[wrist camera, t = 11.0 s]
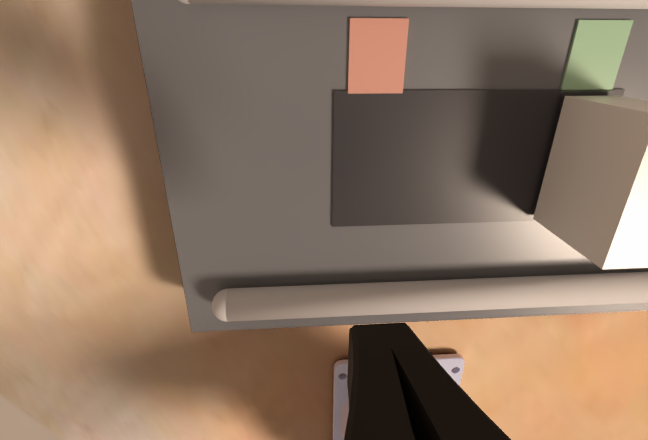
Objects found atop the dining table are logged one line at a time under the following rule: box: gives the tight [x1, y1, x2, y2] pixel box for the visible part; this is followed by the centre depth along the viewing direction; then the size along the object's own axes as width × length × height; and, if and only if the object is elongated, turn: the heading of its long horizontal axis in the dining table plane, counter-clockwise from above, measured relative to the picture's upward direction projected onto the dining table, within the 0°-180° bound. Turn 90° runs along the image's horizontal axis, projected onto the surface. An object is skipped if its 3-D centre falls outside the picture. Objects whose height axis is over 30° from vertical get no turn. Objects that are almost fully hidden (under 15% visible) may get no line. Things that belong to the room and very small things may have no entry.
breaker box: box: [131, 0, 648, 332], centre depth 17 cm, size 16×24×3 cm, turn 90°
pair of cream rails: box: [178, 0, 648, 322], centre depth 15 cm, size 13×21×1 cm, turn 90°
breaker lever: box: [533, 96, 648, 269], centre depth 13 cm, size 5×2×4 cm, turn 0°
